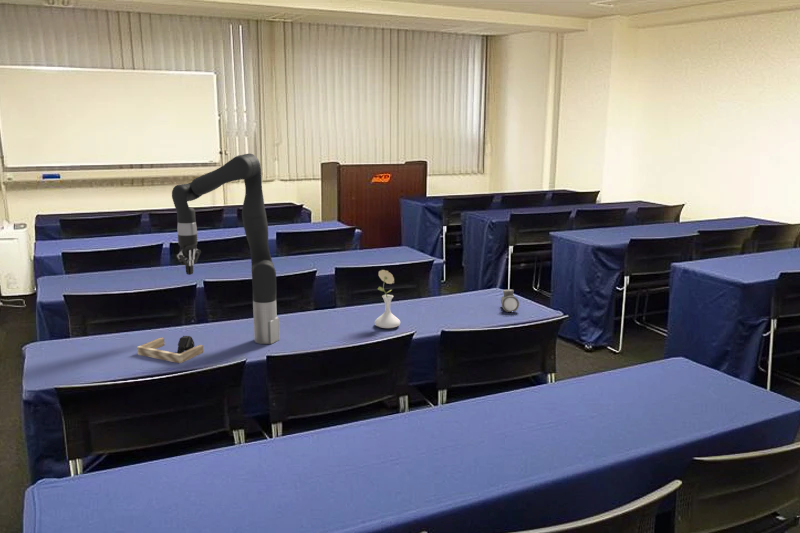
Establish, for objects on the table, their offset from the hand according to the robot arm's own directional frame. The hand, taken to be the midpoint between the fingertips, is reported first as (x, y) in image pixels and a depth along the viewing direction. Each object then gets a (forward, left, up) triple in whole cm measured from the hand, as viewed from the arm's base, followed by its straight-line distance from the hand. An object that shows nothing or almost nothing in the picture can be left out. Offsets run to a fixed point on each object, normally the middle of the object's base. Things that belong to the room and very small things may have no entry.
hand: (189, 274), depth 266 cm
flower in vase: (-70, -43, -25) cm, 86 cm away
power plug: (-15, +23, -26) cm, 37 cm away
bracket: (-10, +23, -25) cm, 36 cm away
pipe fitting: (-112, -92, -25) cm, 147 cm away
